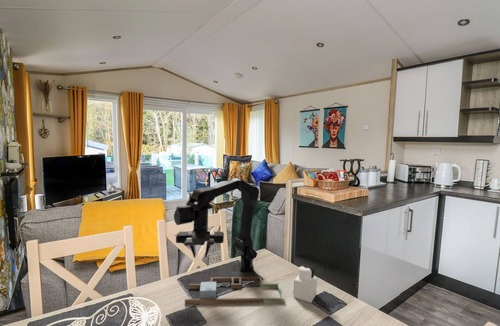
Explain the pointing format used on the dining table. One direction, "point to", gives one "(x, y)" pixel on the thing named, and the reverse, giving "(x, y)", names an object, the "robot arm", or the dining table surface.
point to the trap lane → (220, 281)
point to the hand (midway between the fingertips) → (200, 257)
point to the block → (207, 290)
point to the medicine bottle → (305, 283)
